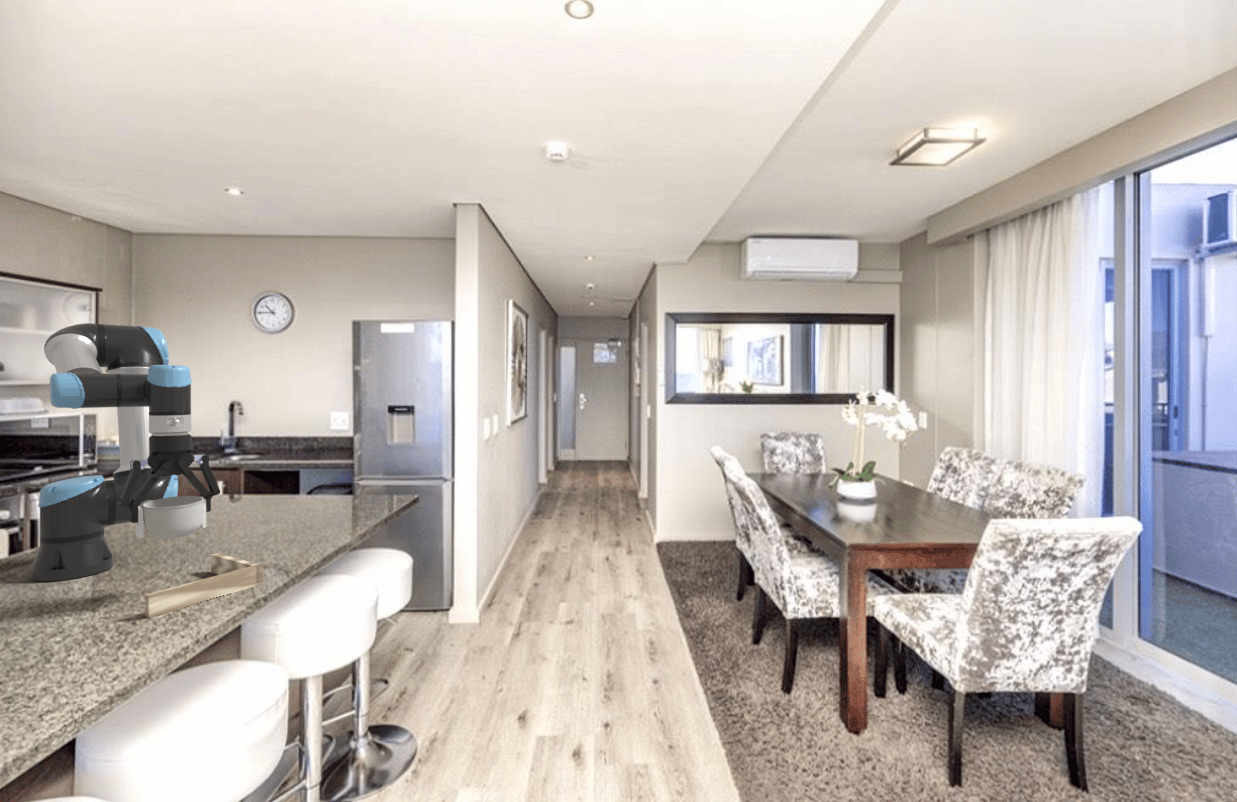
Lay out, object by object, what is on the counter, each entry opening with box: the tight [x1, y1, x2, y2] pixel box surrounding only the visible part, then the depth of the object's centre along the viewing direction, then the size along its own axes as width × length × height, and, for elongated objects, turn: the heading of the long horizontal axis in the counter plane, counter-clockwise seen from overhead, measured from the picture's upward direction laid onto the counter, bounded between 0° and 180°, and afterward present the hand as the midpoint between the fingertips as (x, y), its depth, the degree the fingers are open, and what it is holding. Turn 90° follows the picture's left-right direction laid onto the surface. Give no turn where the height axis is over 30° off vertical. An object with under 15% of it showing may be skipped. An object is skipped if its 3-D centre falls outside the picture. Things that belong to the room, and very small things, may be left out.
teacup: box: [140, 495, 204, 540], centre depth 127 cm, size 14×11×8 cm
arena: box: [144, 552, 264, 619], centre depth 129 cm, size 20×22×4 cm
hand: (172, 531), depth 127 cm, fingers closed on teacup, 11 cm apart
